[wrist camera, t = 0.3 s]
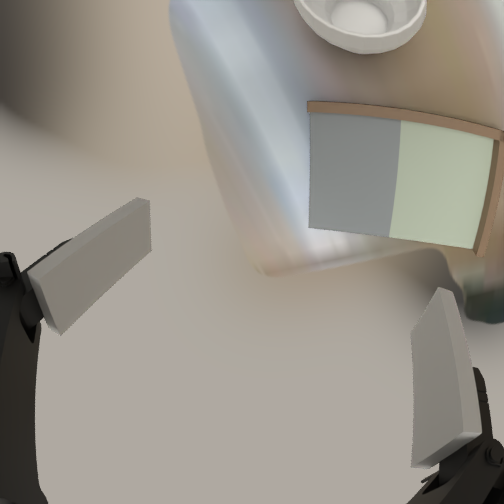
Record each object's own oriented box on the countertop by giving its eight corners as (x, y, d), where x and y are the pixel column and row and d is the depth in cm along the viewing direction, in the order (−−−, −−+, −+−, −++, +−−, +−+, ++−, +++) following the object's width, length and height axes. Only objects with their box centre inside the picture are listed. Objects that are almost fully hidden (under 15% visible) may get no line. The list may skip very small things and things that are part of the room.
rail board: (311, 100, 32) (307, 101, 29) (498, 129, 25) (508, 133, 22) (310, 224, 40) (306, 233, 37) (477, 246, 32) (483, 257, 30)
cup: (344, 80, 29) (336, 68, 17) (296, 9, 26) (256, -37, 14) (421, 47, 24) (461, 20, 12) (371, -24, 21) (374, -85, 9)
